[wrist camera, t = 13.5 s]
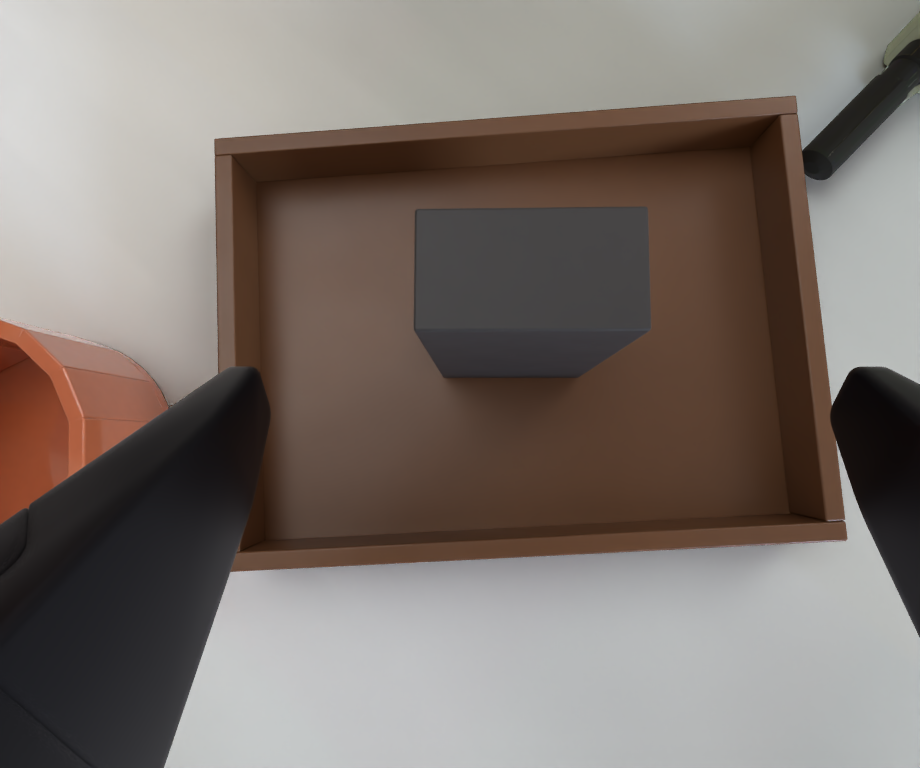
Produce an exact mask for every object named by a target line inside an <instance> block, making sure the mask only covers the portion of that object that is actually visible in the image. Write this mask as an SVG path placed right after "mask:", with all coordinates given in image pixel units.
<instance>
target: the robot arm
mask: <svg viewBox="0 0 920 768" xmlns="http://www.w3.org/2000/svg"><path fill="white" fill-rule="evenodd" d="M270 420H271V410H270V404H269V401H268V398H267V395H266V391H265V388H264V385H263V381H262V378H261V375H260V373H259V371H258V369H256V368H255V367H252V366H234V367H228V368H227V369H225V370H224V371H222V372H221V373H219V374H218V375H216V376H215V377H214V378H212V379H211V380H209V381H208V382H206V383H205V384H203V385H202V386H200V387H199V388H198V389H196V390H195V391H193V392H192V393H190V394H189V395H187V396H186V397H185V398H183V399H182V400H180V401H179V402H177V403H176V404H174V405H173V406H171V407H170V408H169V409H167V410H166V411H164V412H163V413H161V414H160V415H158V416H157V417H156V418H154V419H153V420H151V421H150V422H148V423H147V424H145V425H144V426H142V427H141V428H140V429H138V430H137V431H135V432H134V433H132V434H131V435H129V436H128V437H126V438H125V439H124V440H122V441H121V442H119V443H118V444H116V445H115V446H113V447H112V448H111V449H109V450H108V451H106V452H105V453H103V454H102V455H100V456H99V457H97V458H96V459H95V460H93V461H92V462H90V463H89V464H87V465H86V466H84V467H83V468H81V469H80V470H79V471H77V472H76V473H74V474H73V475H71V476H70V477H68V478H67V479H65V480H64V481H63V482H61V483H60V484H58V485H57V486H55V487H54V488H52V489H51V490H50V491H48V492H47V493H45V494H44V495H42V496H41V497H39V498H38V499H36V500H35V501H34V502H32V503H31V504H30V505H29V509H27V508H24V509H22V510H20V511H19V512H17V513H16V514H15V515H13V516H12V517H10V518H9V519H7V520H6V521H4V522H3V523H1V524H0V768H164V766H165V763H166V760H167V757H168V754H169V751H170V748H171V745H172V742H173V739H174V736H175V733H176V730H177V727H178V724H179V721H180V718H181V715H182V712H183V710H184V707H185V704H186V701H187V698H188V695H189V692H190V689H191V686H192V683H193V680H194V677H195V674H196V671H197V668H198V665H199V662H200V659H201V656H202V653H203V651H204V648H205V645H206V642H207V639H208V636H209V633H210V630H211V627H212V624H213V621H214V618H215V615H216V612H217V609H218V606H219V603H220V600H221V597H222V594H223V592H224V589H225V586H226V583H227V580H228V577H229V574H230V571H231V568H232V565H233V562H234V559H235V556H236V553H237V550H238V547H239V544H240V541H241V538H242V535H243V533H244V530H245V527H246V524H247V521H248V518H249V514H250V511H251V508H252V505H253V501H254V497H255V492H256V488H257V483H258V478H259V473H260V469H261V464H262V459H263V454H264V449H265V444H266V440H267V435H268V430H269V425H270ZM830 422H831V426H832V429H833V432H834V435H835V438H836V441H837V444H838V447H839V450H840V453H841V456H842V459H843V462H844V465H845V468H846V471H847V474H848V477H849V480H850V483H851V486H852V489H853V492H854V495H855V497H856V500H857V503H858V505H859V508H860V511H861V513H862V515H863V518H864V520H865V522H866V524H867V527H868V529H869V531H870V533H871V535H872V537H873V539H874V541H875V544H876V546H877V548H878V550H879V552H880V554H881V556H882V558H883V561H884V563H885V565H886V567H887V569H888V571H889V573H890V575H891V578H892V580H893V582H894V584H895V586H896V588H897V590H898V592H899V595H900V597H901V599H902V601H903V603H904V605H905V607H906V609H907V612H908V614H909V616H910V618H911V620H912V622H913V624H914V626H915V629H916V631H917V633H918V635H919V637H920V384H918V383H916V382H914V381H912V380H910V379H908V378H906V377H904V376H902V375H900V374H898V373H896V372H894V371H892V370H890V369H888V368H885V367H857V368H854V369H853V370H851V371H850V372H849V374H848V375H847V377H846V379H845V381H844V383H843V385H842V387H841V389H840V391H839V393H838V395H837V397H836V399H835V401H834V403H833V405H832V408H831V412H830Z"/></svg>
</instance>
